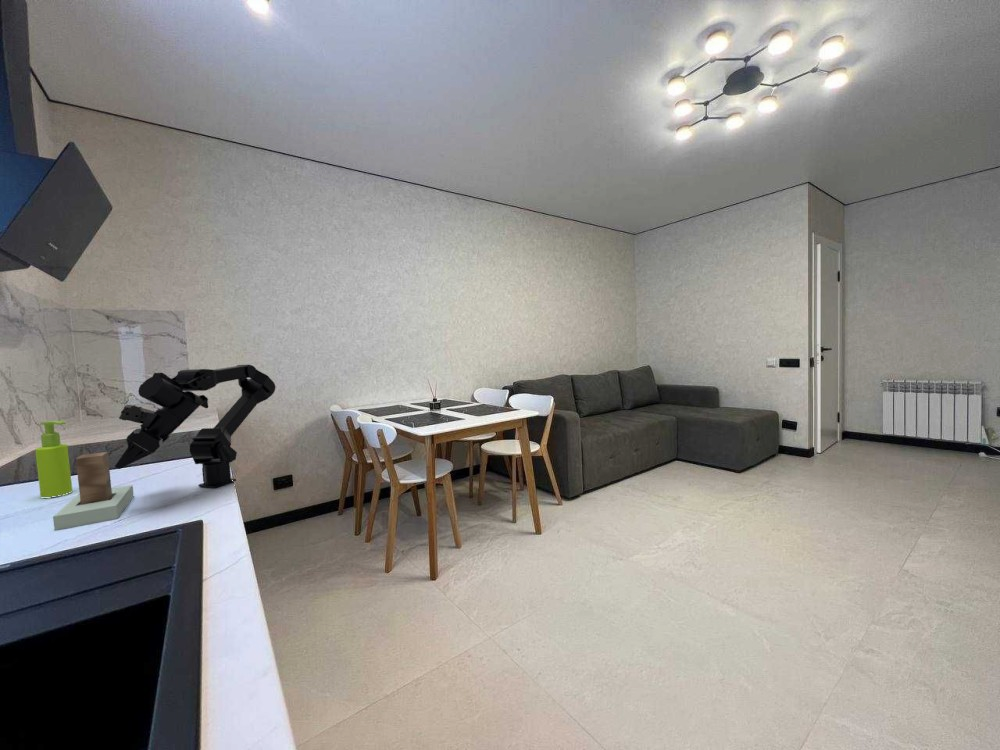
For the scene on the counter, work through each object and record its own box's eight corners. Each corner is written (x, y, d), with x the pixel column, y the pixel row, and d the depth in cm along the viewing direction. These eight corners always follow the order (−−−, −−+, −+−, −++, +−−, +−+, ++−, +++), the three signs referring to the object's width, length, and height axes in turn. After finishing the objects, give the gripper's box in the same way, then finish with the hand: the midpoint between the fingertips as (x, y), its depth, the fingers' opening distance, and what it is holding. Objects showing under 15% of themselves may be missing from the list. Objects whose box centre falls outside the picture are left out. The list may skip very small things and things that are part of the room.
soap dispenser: (59, 498, 110) (51, 422, 108) (34, 499, 110) (25, 423, 108) (82, 490, 115) (74, 418, 114) (58, 491, 116) (50, 419, 114)
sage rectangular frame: (80, 505, 104) (79, 493, 103) (133, 496, 109) (132, 484, 109) (54, 530, 88) (53, 516, 88) (117, 518, 94) (116, 505, 94)
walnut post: (112, 502, 102) (107, 451, 101) (108, 507, 98) (102, 455, 97) (87, 506, 99) (81, 454, 99) (81, 512, 96) (75, 458, 95)
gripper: (151, 389, 111) (99, 437, 106) (135, 395, 95) (73, 451, 90) (190, 415, 115) (142, 462, 110) (181, 425, 99) (125, 480, 94)
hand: (121, 463), depth 101 cm, fingers open, 9 cm apart
